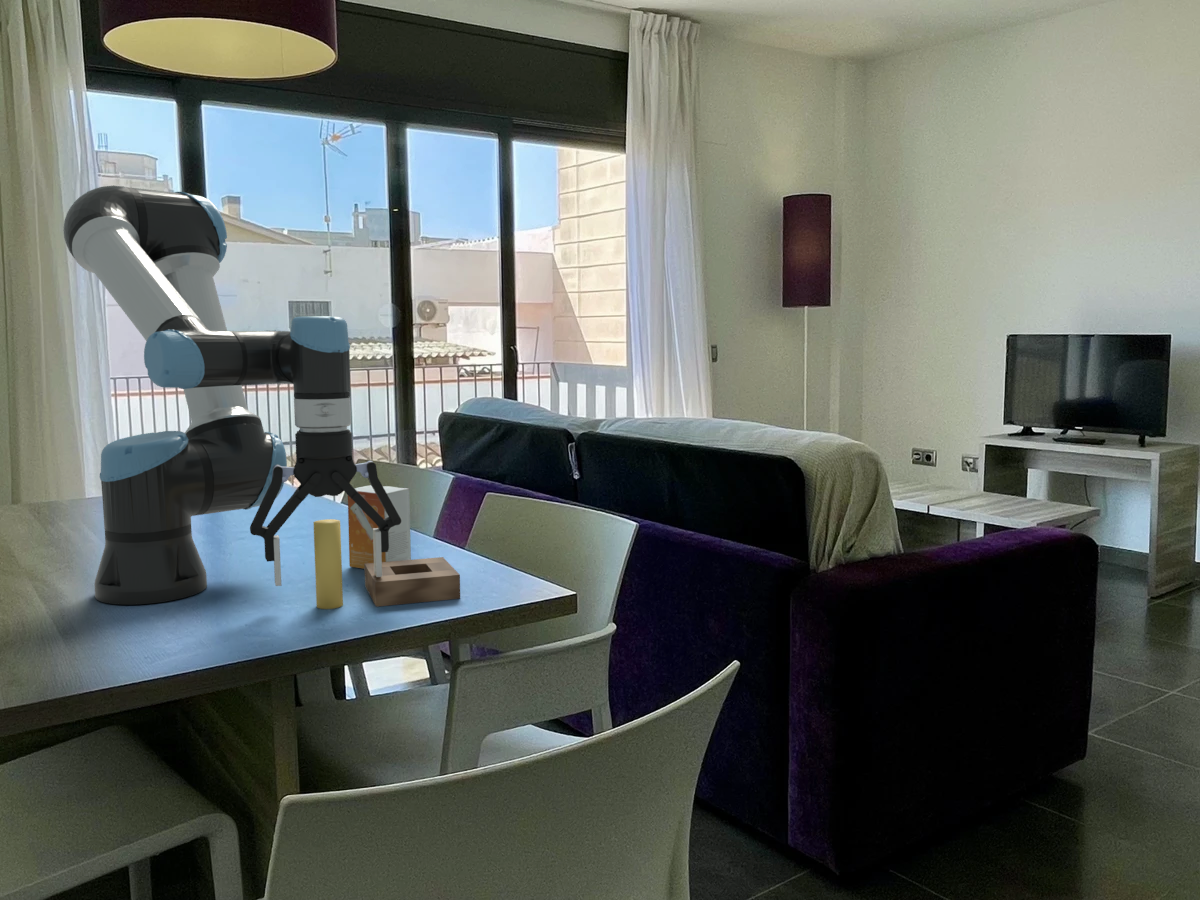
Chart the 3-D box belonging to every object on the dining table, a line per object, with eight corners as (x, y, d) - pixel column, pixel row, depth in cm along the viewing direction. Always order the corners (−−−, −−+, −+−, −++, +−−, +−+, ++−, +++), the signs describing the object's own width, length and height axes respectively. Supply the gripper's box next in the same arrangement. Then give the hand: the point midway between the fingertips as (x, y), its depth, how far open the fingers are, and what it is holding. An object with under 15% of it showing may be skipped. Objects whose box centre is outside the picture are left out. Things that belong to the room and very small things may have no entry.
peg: (317, 610, 135) (314, 525, 133) (315, 603, 138) (312, 520, 137) (344, 607, 136) (341, 523, 135) (341, 601, 139) (338, 518, 138)
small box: (348, 567, 159) (346, 489, 158) (375, 560, 165) (373, 484, 163) (386, 573, 155) (384, 493, 154) (412, 565, 161) (410, 487, 159)
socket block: (376, 606, 136) (375, 582, 136) (365, 586, 148) (364, 563, 147) (460, 598, 141) (459, 574, 140) (443, 579, 152) (443, 557, 151)
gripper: (226, 434, 126) (234, 594, 129) (418, 428, 135) (422, 577, 138) (227, 429, 133) (234, 580, 136) (409, 423, 142) (413, 565, 144)
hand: (329, 579), depth 137 cm, fingers open, 13 cm apart
